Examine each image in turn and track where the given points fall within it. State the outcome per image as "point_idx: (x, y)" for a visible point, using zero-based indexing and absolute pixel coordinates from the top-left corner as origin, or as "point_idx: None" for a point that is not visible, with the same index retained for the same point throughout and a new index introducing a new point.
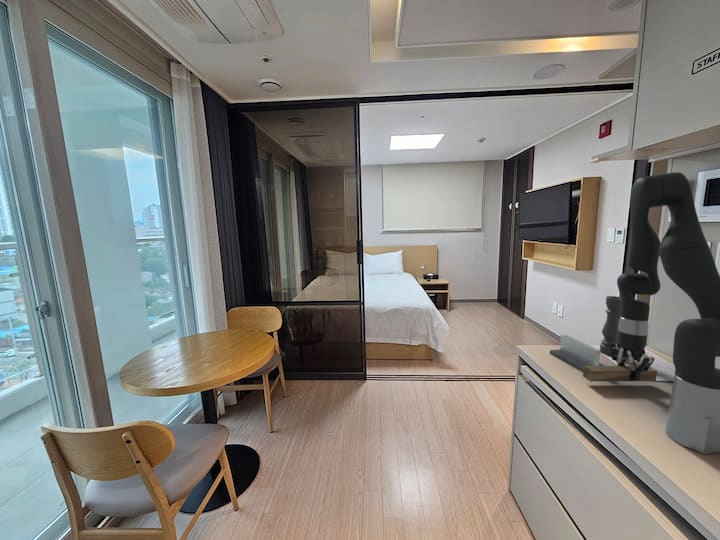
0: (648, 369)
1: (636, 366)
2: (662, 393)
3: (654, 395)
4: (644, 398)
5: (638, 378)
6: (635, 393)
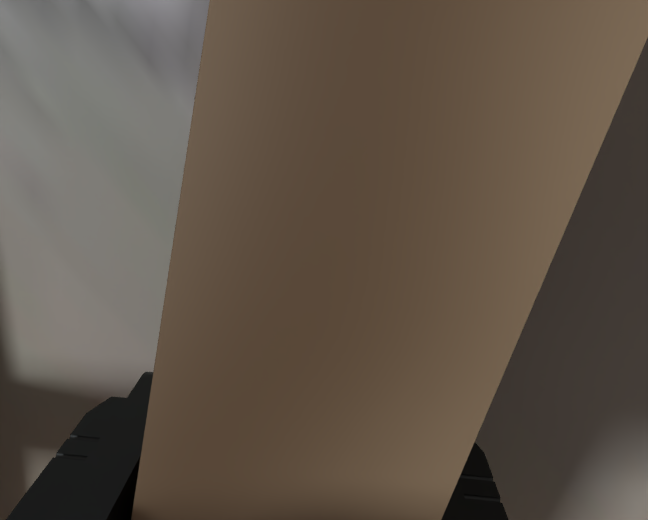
0: (505, 181)
1: (219, 325)
2: (641, 100)
3: (617, 277)
4: (600, 456)
5: (485, 482)
6: (490, 446)
